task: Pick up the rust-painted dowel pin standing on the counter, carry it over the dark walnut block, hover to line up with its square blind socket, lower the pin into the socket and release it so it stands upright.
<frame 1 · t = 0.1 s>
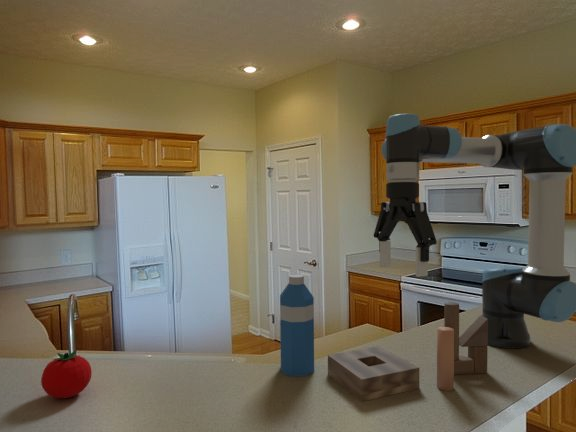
hand: (402, 271, 100), 28 cm above the countertop, fingers open, 13 cm apart
water bottle: (297, 369, 111), on the countertop
pin: (445, 387, 100), on the countertop
tomato: (67, 396, 98), on the countertop
wooden block: (464, 372, 109), on the countertop
socket block: (371, 380, 104), on the countertop
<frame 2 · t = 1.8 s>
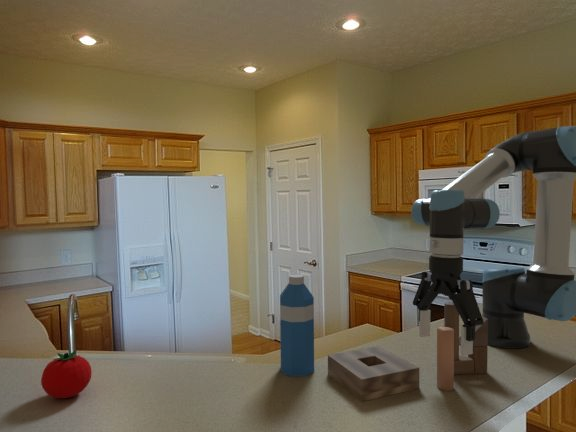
hand: (444, 344, 99), 10 cm above the countertop, fingers open, 13 cm apart
nothing on the countertop moved.
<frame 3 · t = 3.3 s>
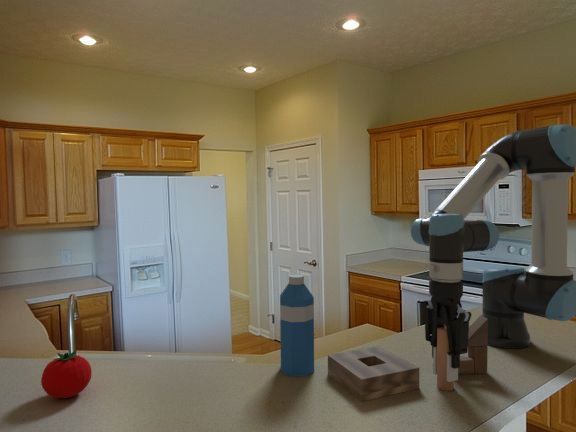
hand: (445, 376, 100), 3 cm above the countertop, fingers closed on pin, 4 cm apart
pin: (445, 387, 100), on the countertop, touching gripper
everything else where it was.
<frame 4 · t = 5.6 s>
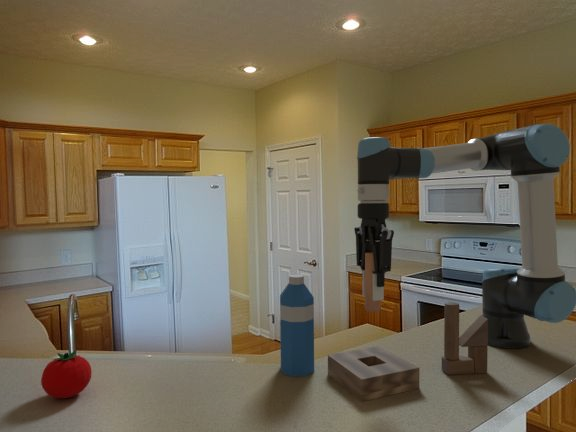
hand: (372, 297, 103), 21 cm above the countertop, fingers closed on pin, 4 cm apart
pin: (372, 309, 103), point 18 cm above the countertop, touching gripper
everything else where it was.
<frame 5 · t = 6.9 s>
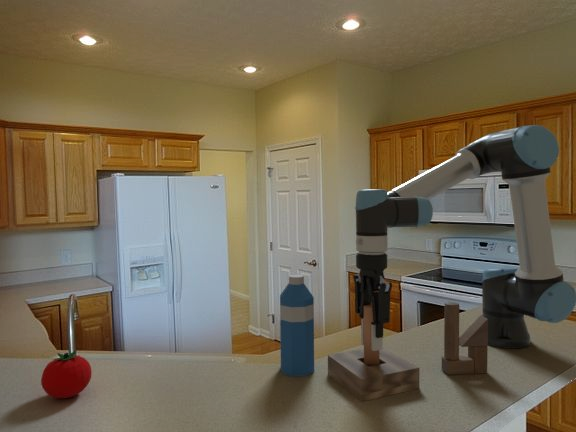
hand: (371, 346, 104), 9 cm above the countertop, fingers closed on pin, 4 cm apart
pin: (371, 362, 104), point 5 cm above the countertop, touching gripper
everything else where it was.
when the fingers open (6 cm above the countertop, at t = 8.0 s): pin stays where it is, resting on socket block.
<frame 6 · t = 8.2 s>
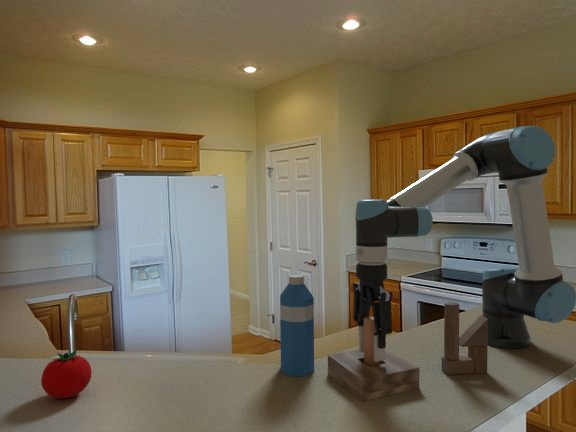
hand: (371, 355, 104), 6 cm above the countertop, fingers open, 6 cm apart
pin: (371, 374, 104), point 2 cm above the countertop, touching socket block
everything else where it was.
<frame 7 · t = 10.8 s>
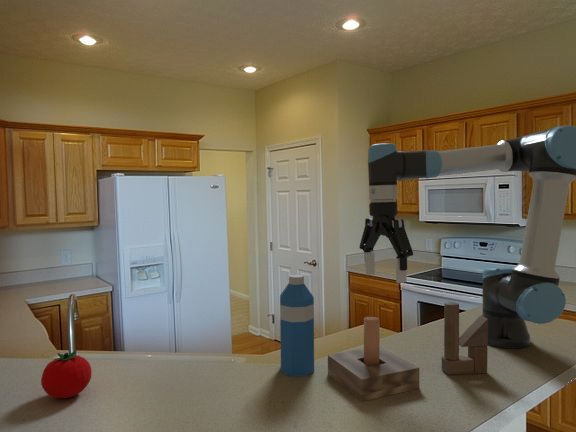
hand: (385, 278, 116), 23 cm above the countertop, fingers open, 13 cm apart
nothing on the countertop moved.
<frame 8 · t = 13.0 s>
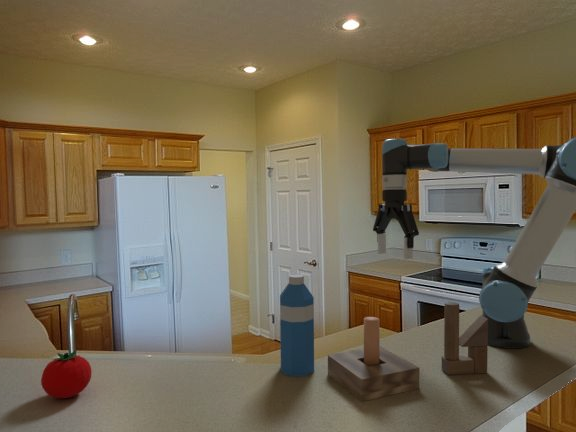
hand: (394, 256, 133), 27 cm above the countertop, fingers open, 13 cm apart
nothing on the countertop moved.
at the end: pin 0.0 cm off-centre on the socket block, point 1.5 cm above the socket block's base; pin tilted 0°; the gripper is holding nothing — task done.
